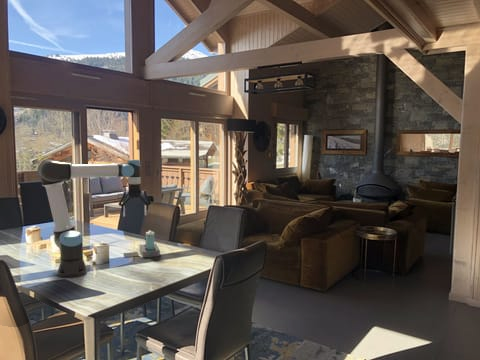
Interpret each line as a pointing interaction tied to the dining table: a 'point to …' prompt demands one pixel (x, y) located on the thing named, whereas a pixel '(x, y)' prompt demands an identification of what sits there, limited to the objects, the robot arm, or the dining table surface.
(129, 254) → the mat
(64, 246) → the robot arm
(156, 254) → the housing
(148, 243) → the cartridge
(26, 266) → the dining table surface
